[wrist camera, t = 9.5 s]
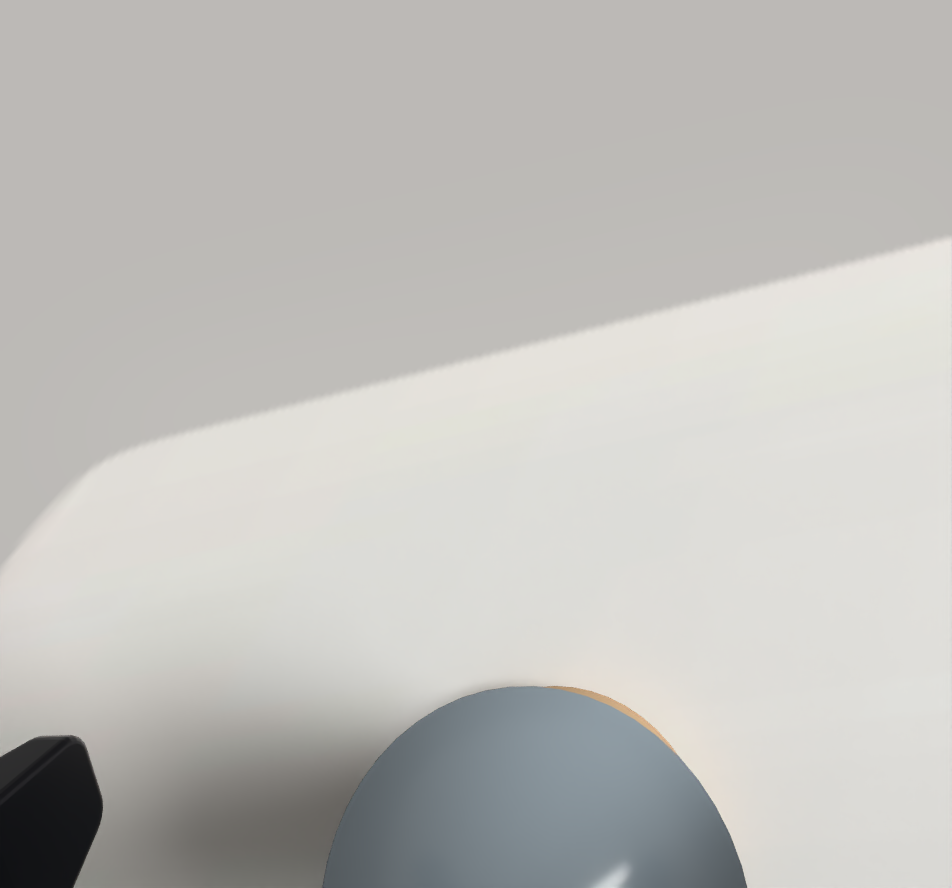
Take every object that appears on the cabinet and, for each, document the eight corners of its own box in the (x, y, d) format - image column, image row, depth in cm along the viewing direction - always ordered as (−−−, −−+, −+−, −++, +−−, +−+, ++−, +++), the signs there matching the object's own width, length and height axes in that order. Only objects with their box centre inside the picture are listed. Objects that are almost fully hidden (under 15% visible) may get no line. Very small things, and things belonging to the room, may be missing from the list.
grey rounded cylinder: (615, 1000, 16) (660, 1329, 6) (436, 891, 18) (239, 1022, 8) (686, 795, 18) (812, 803, 8) (515, 710, 19) (437, 622, 9)
